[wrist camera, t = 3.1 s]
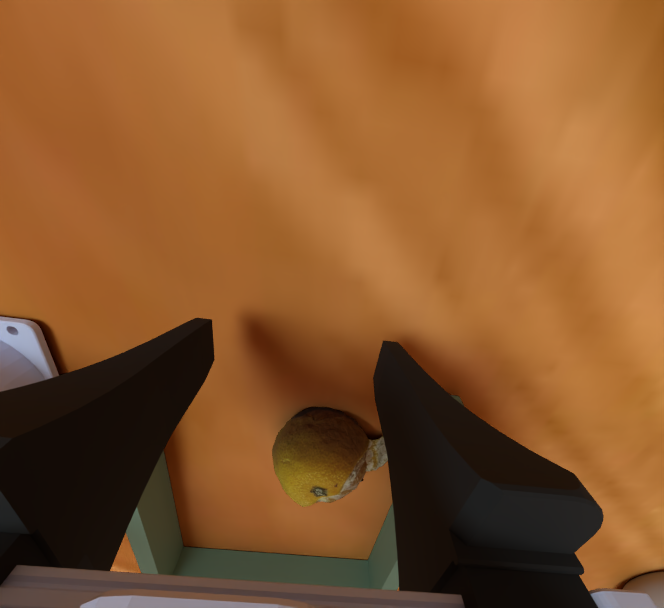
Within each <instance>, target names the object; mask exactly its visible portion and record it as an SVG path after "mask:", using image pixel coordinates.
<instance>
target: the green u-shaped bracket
mask: <svg viewBox="0 0 664 608" xmlns="http://www.w3.org/2000/svg"><path fill="white" fill-rule="evenodd" d="M451 396H452V397H453V398H454V399H456V400H457V401H458V402H459V403H461V404H462V405H463V403H462V401H461V399H460V397H459V396H453V395H451ZM463 406H464V405H463ZM464 407H465V406H464ZM126 534H127V537H128V539H129V542H130V544H131V547H132V550H133V552H134V555H135V557H136V560H137V563H138V565H139V568H140V571H141V573H144V574H159V575H174V576H189V577H203V578H218V579H233V580H248V581H263V582H278V583H292V584H307V585H322V586H337V587H352V588H367V589H382V590H396V591H397V589H398V587H399V576H398V560H397V546H396V534H395V521H394V510H393V503H392V505H391V507H390V510H389V512H388V514H387V517H386V519H385V521H384V524H383V526H382V528H381V531H380V533H379V535H378V538H377V540H376V542H375V545H374V547H373V549H372V552H371V554H370V556H369V559H368V560H355V559H342V558H328V557H315V556H301V555H288V554H274V553H261V552H247V551H234V550H220V549H207V548H194V547H184V546H183V541H182V536H181V532H180V527H179V522H178V517H177V512H176V508H175V503H174V498H173V493H172V488H171V483H170V479H169V474H168V469H167V464H166V459H165V454H164V450H163V452H162V454H161V456H160V458H159V460H158V462H157V464H156V466H155V468H154V470H153V473H152V475H151V477H150V479H149V481H148V483H147V485H146V487H145V490H144V492H143V494H142V496H141V498H140V501H139V503H138V505H137V507H136V510H135V512H134V514H133V517H132V519H131V521H130V523H129V526H128V528H127V530H126Z"/></svg>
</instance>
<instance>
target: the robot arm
mask: <svg viewBox="0 0 664 608" xmlns="http://www.w3.org/2000/svg"><path fill="white" fill-rule="evenodd" d="M213 362H214V345H213V330H212V320H211V319H203V318H195V319H193V320H190V321H188V322H186V323H184V324H182V325H180V326H178V327H176V328H174V329H172V330H170V331H168V332H166V333H164V334H162V335H160V336H158V337H156V338H154V339H152V340H150V341H148V342H146V343H143V344H141V345H139V346H137V347H135V348H132V349H130V350H128V351H126V352H124V353H121V354H119V355H117V356H114V357H112V358H109V359H106V360H104V361H101V362H98V363H96V364H93V365H90V366H87V367H85V368H82V369H79V370H75V371H72V372H69V373H66V374H63V375H59V374H58V371H57V369H56V366H55V363H54V361H53V358H52V356H51V353H50V351H49V348H48V346H47V343H46V341H45V338H44V336H43V333H42V331H41V328H40V327H39V325H37V324H36V323H35V322H33V321H30V320H25V319H17V318H8V317H0V608H658V607H657V606H656V605H655V603H654V602H653V601H652V599H651V598H650V596H649V595H648V594H647V593H645V592H643V591H635V590H621V589H607V588H604V589H595V590H591V591H588V590H587V588H586V586H585V585H584V583H583V581H582V580H581V578H580V576H579V575H582V574H583V573H584V568H583V566H582V565H581V563H580V561H579V560H578V558H577V557H576V555H575V552H576V551H577V550H578V549H579V548H580V547H581V546H582V545H583V544H585V543H586V542H587V541H588V540H589V539H590V538H591V537H592V536H594V535H595V533H596V532H597V531H598V530H599V529H600V527H601V524H602V522H603V512H602V509H601V508H600V506H599V505H598V504H597V503H596V501H595V500H594V499H593V497H592V496H591V495H590V494H589V492H588V491H587V490H586V488H585V487H584V486H583V485H582V483H581V482H580V481H579V479H578V478H577V477H576V476H575V474H574V473H572V472H570V471H568V470H566V469H564V468H562V467H560V466H559V465H557V464H555V463H553V462H551V461H549V460H547V459H545V458H543V457H542V456H540V455H538V454H536V453H534V452H532V451H531V450H529V449H527V448H525V447H524V446H522V445H520V444H519V443H517V442H515V441H514V440H512V439H510V438H509V437H507V436H506V435H504V434H503V433H501V432H499V431H498V430H496V429H495V428H493V427H492V426H490V425H489V424H488V423H486V422H485V421H483V420H482V419H480V418H479V417H477V416H476V415H475V414H473V413H472V412H471V411H469V410H468V409H467V408H466V407H464V406H463V405H462V404H461V403H459V402H458V401H457V400H456V399H454V398H453V397H452V396H451V395H450V394H448V393H447V392H446V391H445V390H444V389H443V388H442V387H441V386H440V385H438V384H437V383H436V382H435V381H434V380H433V379H432V378H431V377H430V376H429V375H428V374H427V373H426V372H425V371H424V370H423V369H422V368H421V367H420V366H419V365H418V364H417V363H416V361H415V360H414V359H413V358H412V357H411V356H410V355H409V354H408V353H407V352H406V351H405V350H404V349H403V347H402V346H401V345H400V344H399V343H398V342H391V341H383V343H382V347H381V351H380V354H379V358H378V362H377V366H376V369H375V373H374V377H373V381H374V393H375V401H376V406H377V411H378V415H379V420H380V424H381V429H382V433H383V438H384V442H385V447H386V452H387V458H388V465H389V473H390V482H391V491H392V501H393V510H394V521H395V534H396V546H397V560H398V576H399V591H396V590H382V589H367V588H352V587H337V586H322V585H307V584H292V583H278V582H263V581H248V580H233V579H218V578H203V577H189V576H174V575H159V574H144V573H129V572H114V571H110V569H111V567H112V564H113V562H114V559H115V557H116V555H117V552H118V550H119V547H120V545H121V542H122V540H123V537H124V535H125V533H126V530H127V528H128V526H129V523H130V521H131V519H132V517H133V514H134V512H135V510H136V507H137V505H138V503H139V501H140V498H141V496H142V494H143V492H144V490H145V487H146V485H147V483H148V481H149V479H150V477H151V475H152V473H153V470H154V468H155V466H156V464H157V462H158V460H159V458H160V456H161V454H162V452H163V450H164V448H165V446H166V444H167V442H168V440H169V438H170V437H171V435H172V433H173V431H174V430H175V428H176V426H177V425H178V423H179V421H180V420H181V418H182V417H183V415H184V414H185V412H186V410H187V409H188V407H189V406H190V404H191V402H192V401H193V399H194V398H195V396H196V394H197V393H198V391H199V390H200V388H201V386H202V385H203V383H204V381H205V379H206V377H207V375H208V373H209V371H210V369H211V366H212V364H213Z"/></svg>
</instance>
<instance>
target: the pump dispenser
mask: <svg viewBox="0 0 664 608" xmlns="http://www.w3.org/2000/svg"><path fill="white" fill-rule="evenodd" d="M622 590H635V591H643V592H645V593H647V594H648V595H649V596H650V598H651V599H652V601H653V602H654V603H655V605H656V606H657V607H658V608H664V571H662V572H654V573H649V574H645V575H642V576H639V577H636V578H634V579H632V580H630V581H629V582H628V583H627V584H626V585H625V586H624V588H623V589H622Z"/></svg>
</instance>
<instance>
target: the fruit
mask: <svg viewBox="0 0 664 608" xmlns="http://www.w3.org/2000/svg"><path fill="white" fill-rule="evenodd" d="M272 456H273V463H274V469H275V473H276V475H277V477H278V479H279V481H280V483H281V485H282V487H283V489H284V491H285V492H286V494H288V495H289V496H290V497H291V499H293V500H294V501H295V502H296V503H297V504H299V505H301V506H302V507H305V506H310V505H312V504H314V503H317V502H320V501H322V502H329V503H331V502H334V501H336V500H338V499H341V498H343V497H344V496H345V495H347V494H349V493H350V492H351V491H352V490H354V489H356V488H357V486H358V484H359V482H361V481H363V477H364V475H365V472H366V471H372V470H377V468H379V467H381V466H383V465H384V464H385V463H386V462H387V461H388V458H387V452H386V447H385V442H384V438H383V436H382V437H381V438H379V439H376V440H371V439H368V438H367V436H366V434H365V433H364V431H363V430H362V429H361V427H360V426H359V425H358V423H357V422H356V421H355V420H354V419H353V418H351V417H349V416H347V415H345V414H344V413H343V412H342V411H339V410H334V409H332V408H328V407H310V408H308V409H305V410H303V411H302V412H299V413H298V414H296V415H295V416H294V417H293V418H291V420H289V421H288V422H287V423H286V425H285V427H284V428H282V429H281V430H280V432H278V435H277V437H276V440H275V443H274V445H273V449H272Z"/></svg>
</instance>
